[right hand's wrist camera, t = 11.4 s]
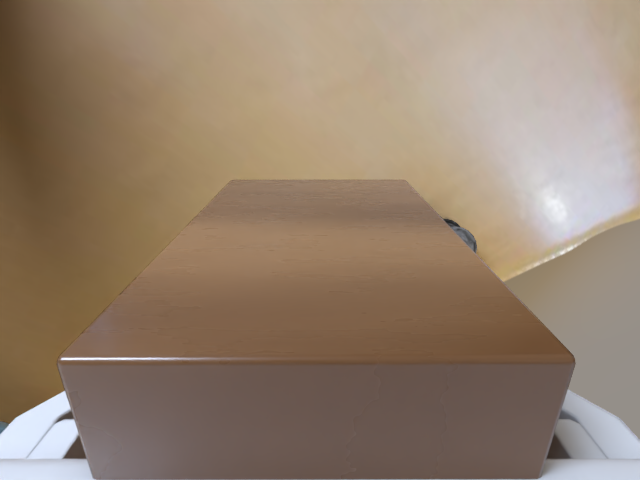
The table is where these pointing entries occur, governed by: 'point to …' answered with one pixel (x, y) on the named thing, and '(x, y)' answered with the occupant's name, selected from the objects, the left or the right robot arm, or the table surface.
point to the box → (316, 348)
